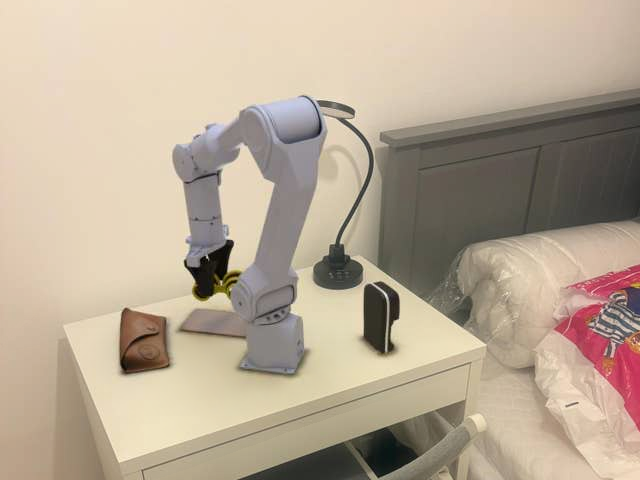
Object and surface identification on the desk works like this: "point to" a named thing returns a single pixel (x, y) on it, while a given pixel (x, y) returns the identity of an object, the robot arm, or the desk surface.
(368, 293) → the battery charger
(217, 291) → the opera glasses
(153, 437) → the desk surface
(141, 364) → the sunglasses case
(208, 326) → the copper plate
